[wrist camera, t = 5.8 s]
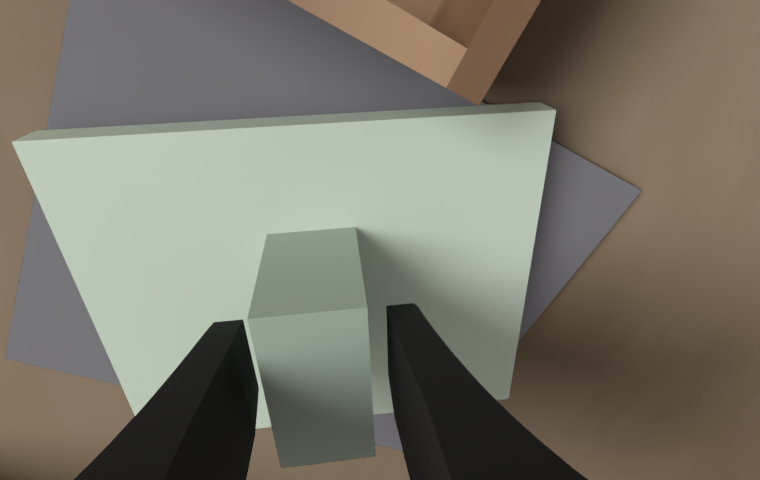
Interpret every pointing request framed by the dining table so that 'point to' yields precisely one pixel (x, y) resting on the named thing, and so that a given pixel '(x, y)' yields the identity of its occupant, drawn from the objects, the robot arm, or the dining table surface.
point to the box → (435, 35)
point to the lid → (301, 248)
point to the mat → (244, 101)
